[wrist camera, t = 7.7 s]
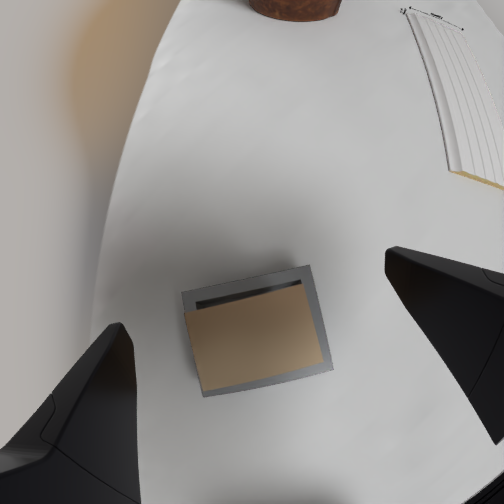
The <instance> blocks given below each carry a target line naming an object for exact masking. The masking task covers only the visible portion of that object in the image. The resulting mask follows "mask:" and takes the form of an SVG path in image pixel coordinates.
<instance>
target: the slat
mask: <svg viewBox="0 0 504 504" xmlns="http://www.w3.org/2000/svg"><path fill="white" fill-rule="evenodd" d="M184 316H185V320H186V325H187V329H188V333H189V338H190V342H191V346H192V350H193V354H194V358H195V362H196V366H197V370H198V374H199V377H200V381H201V385H202V389H203V391H208V390H213V389H218V388H223V387H228V386H233V385H238V384H242V383H247V382H251V381H255V380H259V379H264V378H268V377H272V376H275V375H279V374H283V373H287V372H291V371H294V370H298V369H301V368H305V367H308V366H312V365H315V364H318V363H322V362H324V361H323V357H322V353H321V349H320V345H319V341H318V337H317V334H316V330H315V326H314V322H313V318H312V315H311V311H310V307H309V304H308V300H307V296H306V293H305V289H304V285H303V284H299V285H296V286H292V287H288V288H284V289H281V290H277V291H273V292H269V293H265V294H261V295H257V296H253V297H249V298H245V299H241V300H237V301H233V302H229V303H225V304H221V305H217V306H212V307H208V308H204V309H200V310H195V311H191V312H187V313H184Z"/></svg>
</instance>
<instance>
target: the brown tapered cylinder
mask: <svg viewBox="0 0 504 504" xmlns="http://www.w3.org/2000/svg"><path fill="white" fill-rule="evenodd" d="M341 1H342V0H249V3H250V5H251V6H252V7H253V8H254V9H255V10H256V11H258V12H259V13H261V14H263V15H266V16H269V17H273V18H276V19H281V20H288V21H316V20H322V19H325V18H328V17H330V16H334V15H336V14H337V13H338V10H339V7H340V4H341Z"/></svg>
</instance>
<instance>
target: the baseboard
mask: <svg viewBox="0 0 504 504" xmlns="http://www.w3.org/2000/svg"><path fill="white" fill-rule="evenodd" d="M409 8H410V9H411V7H409ZM412 9H413V8H412ZM401 10H403V9H401ZM415 10H416V9H415ZM417 11H418V10H417ZM405 12H406V10H405V9H404V13H405ZM420 12H421V11H420ZM400 13H401V12H400ZM404 13H403V14H404ZM423 13H424V12H423ZM425 14H426V13H425ZM428 15H429V14H428ZM431 15H433V17H434V16H436V17H439V18H440V17H441V16H439V15H435V14H432V13H431ZM406 16H407V18H408V21H409V23H410V26H411V28H412V31H413V33H414V36H415V38H416V41H417V44H418V47H419V49H420V52H421V55H422V58H423V61H424V64H425V67H426V70H427V74H428V77H429V80H430V84H431V87H432V91H433V95H434V98H435V102H436V106H437V110H438V115H439V119H440V123H441V128H442V133H443V138H444V143H445V149H446V155H447V161H448V167H449V172H452V173H455V174H459V175H462V176H465V177H468V178H471V179H474V180H477V181H479V182H482V183H485V184H488V185H491V186H493V187H496V188H499V189H501V190H504V129H503V126H502V123H501V120H500V117H499V114H498V111H497V108H496V106H495V103H494V100H493V98H492V95H491V93H490V90H489V88H488V85H487V83H486V81H485V78H484V76H483V74H482V72H481V69H480V67H479V65H478V63H477V61H476V59H475V57H474V55H473V53H472V51H471V49H470V47H469V45H468V43H467V41H466V39H465V37H464V36H463V34H462V33H461V32H459V31H457V30H455V29H453V28H450V27H447V26H445V25H444V24H440V23H438V22H436V21H434V20H430V19H428V18H426V17H423V16H420V15H418V14H416V13H414V14H408V13H407V14H406ZM436 17H435V18H436ZM439 18H438V19H439ZM442 18H443V17H441V19H442ZM441 19H440V20H441ZM445 22H446V21H445ZM447 23H448V22H447ZM449 24H450V23H449ZM454 26H455V25H454ZM456 27H457V26H456ZM458 28H459V27H458ZM460 29H461V28H460ZM462 30H463V28H462Z"/></svg>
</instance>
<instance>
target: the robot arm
mask: <svg viewBox="0 0 504 504" xmlns="http://www.w3.org/2000/svg"><path fill="white" fill-rule="evenodd" d="M385 274H386V277H387V278H388V280H389V282H390V283H391V285H392V286H393V288H394V290H395V291H396V293H397V295H398V296H399V298H400V300H401V301H402V303H403V304H404V306H405V308H406V309H407V310H408V312H409V313H410V315H411V316H412V317H413V319H414V320H415V321H416V323H417V324H418V325H419V327H420V328H421V330H422V331H423V332H424V334H425V335H426V337H427V338H428V339H429V341H430V342H431V344H432V345H433V347H434V348H435V349H436V351H437V352H438V354H439V355H440V357H441V358H442V360H443V361H444V363H445V364H446V365H447V367H448V368H449V370H450V371H451V373H452V375H453V376H454V378H455V379H456V381H457V382H458V384H459V385H460V387H461V388H462V390H463V392H464V393H465V395H466V396H467V398H468V400H469V401H470V403H471V405H472V406H473V408H474V410H475V411H476V413H477V415H478V416H479V418H480V420H481V421H482V423H483V425H484V427H485V428H486V430H487V432H488V434H489V435H490V437H491V439H492V441H493V442H494V444H495V445H497V444H498V443H500V442H501V441H502V440H503V439H504V274H503V273H499V272H495V271H491V270H488V269H484V268H480V267H477V266H473V265H469V264H466V263H462V262H458V261H454V260H450V259H447V258H443V257H439V256H435V255H431V254H427V253H423V252H419V251H415V250H411V249H407V248H403V247H399V246H395V247H392V248H389V249H387V250H386V252H385ZM0 504H141V496H140V484H139V470H138V450H137V382H136V371H135V358H134V346H133V342H132V340H131V338H130V336H129V334H128V333H127V331H126V329H125V327H124V325H123V324H122V323H120V322H118V323H113V324H110V325H108V327H107V328H106V329H105V330H104V331H103V332H102V333H101V335H100V336H99V337H98V338H97V339H96V340H95V341H94V342H93V344H92V345H91V346H90V347H89V348H88V349H87V351H86V352H85V353H84V354H83V355H82V356H81V358H80V359H79V360H78V361H77V362H76V363H75V365H74V366H73V367H72V368H71V369H70V371H69V372H68V373H67V374H66V375H65V377H64V378H63V379H62V380H61V381H60V383H59V384H58V385H57V386H56V387H55V389H54V390H53V391H52V394H50V395H49V396H48V397H47V399H46V400H45V401H44V402H43V403H42V405H41V406H40V407H39V408H38V409H37V411H36V412H35V413H34V414H33V415H32V416H31V417H30V418H29V420H28V421H27V422H26V423H25V424H24V425H23V426H22V427H21V428H20V430H19V431H18V432H17V433H16V434H15V435H14V436H13V437H12V438H11V440H10V441H9V442H8V443H7V444H6V445H5V446H4V447H3V448H1V449H0ZM462 504H504V470H503V471H502V472H501V473H500V474H499V475H498V476H497V477H495V478H494V479H493V480H492V481H491V482H489V483H488V484H487V485H486V486H484V487H483V488H482V489H481V490H479V491H478V492H477V493H475V494H474V495H473V496H471V497H470V498H469V499H467V500H466V501H465V502H463V503H462Z"/></svg>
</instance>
